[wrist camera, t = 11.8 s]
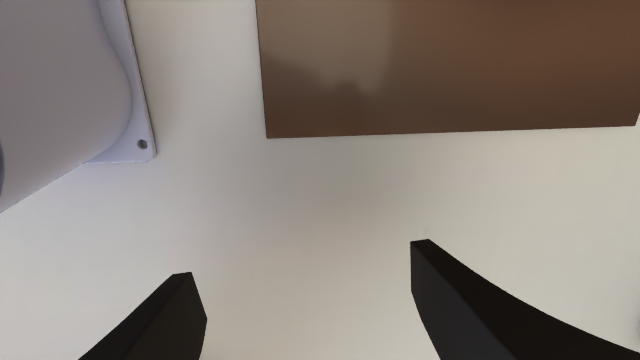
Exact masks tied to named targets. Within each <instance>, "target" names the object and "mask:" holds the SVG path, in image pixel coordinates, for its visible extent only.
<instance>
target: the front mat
mask: <svg viewBox="0 0 640 360" xmlns="http://www.w3.org/2000/svg"><path fill="white" fill-rule="evenodd" d="M255 3H256V15H257V27H258V39H259V51H260V64H261V76H262V88H263V100H264V112H265V125H266V137H267V139H271V138H300V137H329V136H358V135H387V134H416V133H446V132H475V131H504V130H533V129H562V128H591V127H620V126H635V125H636V122H637V119H638V116H639V113H640V0H255Z"/></svg>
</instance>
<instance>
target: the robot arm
mask: <svg viewBox="0 0 640 360" xmlns="http://www.w3.org/2000/svg"><path fill="white" fill-rule="evenodd" d="M141 139H142V140H145V141H146V142H147V147H145V146H143V145H141V143H140V140H141ZM155 156H156V147H155V142H154V137H153V133H152V128H151V123H150V119H149V114H148V110H147V105H146V100H145V96H144V91H143V86H142V82H141V77H140V73H139V68H138V63H137V59H136V54H135V50H134V45H133V40H132V36H131V31H130V26H129V22H128V17H127V13H126V8H125V3H124V0H0V213H1V212H3V211H5V210H6V209H8V208H10V207H11V206H13V205H15V204H16V203H18V202H20V201H21V200H23V199H24V198H26V197H28V196H29V195H31V194H33V193H34V192H36V191H38V190H39V189H41V188H43V187H44V186H46V185H48V184H49V183H51V182H53V181H54V180H56V179H58V178H59V177H61V176H63V175H64V174H66V173H68V172H69V171H71V170H73V169H74V168H76V167H78V166H79V165H81V164H99V163H126V162H148V161H151V160H152V159H153V158H155ZM410 252H411V292H412V295H413V298H414V301H415V304H416V307H417V309H418V312H419V315H420V318H421V320H422V322H423V324H424V327H425V329H426V331H427V333H428V335H429V337H430V339H431V341H432V343H433V345H434V347H435V349H436V351H437V353H438V355H439V357H440V359H441V360H640V353H638V352H635V351H633V350H630V349H627V348H625V347H622V346H619V345H617V344H614V343H612V342H609V341H607V340H604V339H602V338H599V337H597V336H594V335H592V334H590V333H587V332H585V331H583V330H581V329H578V328H576V327H574V326H572V325H569V324H567V323H565V322H563V321H560V320H558V319H556V318H554V317H552V316H550V315H548V314H546V313H544V312H542V311H540V310H538V309H536V308H534V307H533V306H531V305H529V304H527V303H525V302H523V301H521V300H519V299H518V298H516V297H514V296H512V295H511V294H509V293H507V292H506V291H504V290H502V289H501V288H499V287H497V286H496V285H494V284H492V283H491V282H489V281H488V280H486V279H485V278H483V277H482V276H480V275H479V274H477V273H476V272H474V271H473V270H471V269H470V268H468V267H467V266H465V265H464V264H463V263H461V262H460V261H458V260H457V259H456V258H454V257H453V256H451V255H450V254H449V253H447V252H446V251H445V250H443V249H442V248H441V247H439V246H438V245H436V244H435V243H434V242H432V241H431V240H430V239H425V240H418V241H411V242H410ZM206 324H207V317H206V314H205V311H204V308H203V305H202V302H201V299H200V296H199V293H198V290H197V287H196V284H195V281H194V278H193V275H192V272H186V273H179V274H173V275H171V276H170V277H169V278H168V279H167V280H166V281H165V282H163V283H162V284H161V285H160V286H159V287H158V288H157V289H156V290H155V291H154V292H153V293H152V294H151V295H150V296H149V297H148V298H147V299H146V300H144V301H143V302H142V303H141V304H140V305H139V306H138V307H137V308H136V309H135V310H134V311H133V312H132V313H131V314H130V315H129V316H128V317H126V318H125V319H124V320H123V321H122V322H121V323H120V324H119V325H118V326H117V327H115V328H114V329H113V330H112V331H111V332H110V333H109V334H107V335H106V336H105V337H104V338H103V339H102V340H101V341H99V342H98V343H97V344H96V345H95V346H94V347H93V348H91V349H90V350H89V351H88V352H87V353H85V354H84V355H83V356H82V357H81V358H79V359H78V360H199V358H200V354H201V351H202V346H203V341H204V336H205V330H206Z"/></svg>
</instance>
